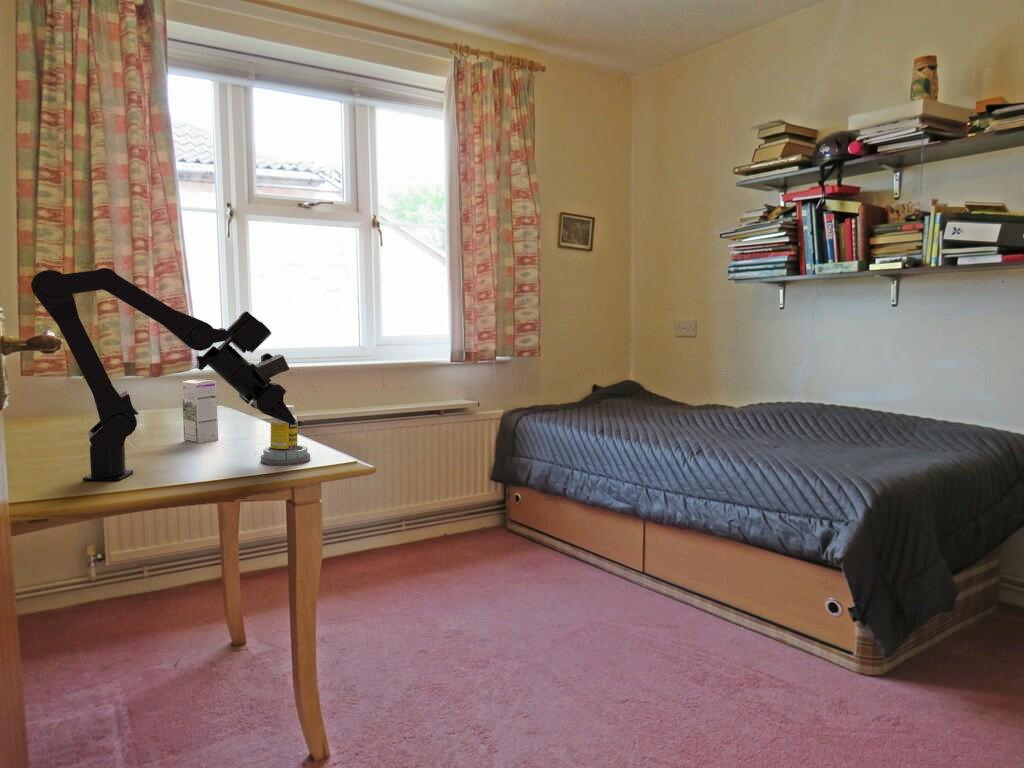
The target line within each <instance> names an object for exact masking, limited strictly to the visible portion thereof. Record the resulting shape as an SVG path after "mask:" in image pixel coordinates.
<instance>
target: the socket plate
mask: <svg viewBox="0 0 1024 768" xmlns="http://www.w3.org/2000/svg"><path fill="white" fill-rule="evenodd" d="M262 450H263V451H262V452H263V454H262V455H260V463H261V464H264V465H267V466H293V465H301V464H304V463H307V462H309V461H311V453H309V452H308V447H307V446H305V445H303V444H301V445H300V444H297V451H290V452H274V451H271V446H267V447H265V448H264V449H262Z"/></svg>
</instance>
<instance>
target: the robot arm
mask: <svg viewBox="0 0 1024 768" xmlns="http://www.w3.org/2000/svg"><path fill="white" fill-rule="evenodd" d="M30 285H31V286H30V287H31V292H32V293H33V296H35V297H36V299H37V300H38V301H39V303H41V305H42V307H43V308H44V309H45V311H46V312H47V313H48V315H49V316H50V317H51V318H52V319H53V321H54V322H55V323H56V325H57V326H58V328H59V330H60V332H61V334H62V337H63V338H64V340H65V342H66V344H67V346H68V348H69V350H70V352H71V354H72V355H73V358H74V360H75V362H76V363H77V366H78V368H79V369H80V370H79V371H80V372H81V373H82V375H83V377H84V380H85V382H86V383H87V385H88V387H89V389H90V392H91V394H92V395H93V400H94V403H95V406H96V410H97V413H98V417H99V421H98V422H97V423H96V424H95V425H94V426H93V427H91V429H89V430H88V432H87V433H88V434H87V435H88V439H89V442H90V445H89V460H90V462H89V463H90V464H89V465H90V474H88V475H85V476H83V477H82V481H120V480H122V479H124V478H126V477H128V476H130V475H132V474H134V472H135V471H134V470H133V469H128V470H127V469H126V468H127V467H126V447H125V442H126V439H127V438H128V436H130V435H132V434H133V433H134V431H136V428H137V426H138V421H137V417H136V416H137V415H139V412H138V410H137V409H136V407H134V406H133V404H132V400H131V395H130V394H129V393H128V391H127V390H126V391H124V392H122V393H119V392H118V390H117V389H116V388H115V386H114V385H113V383H112V382H111V380H110V379H111V378H110V377H109V375H108V372H107V371H106V369H105V368H104V366H103V363H102V361H101V359H100V357H99V355H98V353H97V351H96V349H95V348H94V345H93V343H92V341H91V339H90V337H89V335H88V332H87V331H86V329H85V327H84V325H83V322H82V321H81V319H80V317H79V312H78V308H77V305H76V301H75V297H74V295H76V294H82V293H89V292H95V291H104V292H106V293H108V294H109V295H111V296H113V297H114V298H116V299H118V300H120V301H121V302H123V303H124V304H127V306H130V307H131V308H133V309H134V310H137V311H138V312H139V313H141V314H143V315H144V316H146V317H147V318H148V317H149V318H150V319H151V320H153V321H155V322H157V323H158V324H159V325H161V326H162V327H163V328H164V329H166V331H168V333H169V334H171V335H172V336H174V338H176V339H177V340H178V341H179V342H181V343H182V344H183V345H184V346H185V347H187V348H189V349H191V350H194V351H198V352H201V351H206V350H207V351H206V352H205V353H204V354H203V355H195V359H196V369H197V370H199V371H202V370H204V369H205V368H206V367H207V366H209V368H211V369H212V370H213V371H214V372H215V373H217V375H219V376H220V377H221V379H223V380H224V381H225V383H226V384H228V385H229V386H230V387H232V388H233V389H234V390H235V391H236V392H237V393H238V394H239V395H238V397H239V399H241V400H242V402H244V403H246V404H247V405H249V404H250V405H249V406H250V407H252V409H256V410H258V411H259V412H260V413H261V414H263V415H267V416H269V417H271V418H272V417H274V418H277V419H279V420H282V421H285V422H287V423H290V424H294V423H295V422H296V420H295V418H294V417H293V415H294V414H293V415H292V414H291V412H290V411H289V409H288V408H287V406H286V405H287V404H286V403H285V402H284V398H285V397H284V396H285V394H286V392H287V390H286V389H285V388H284V387H283V386H282V385H281V384H279V383H278V382H272V379H271V378H273V377H275V376H277V375H279V374H281V373H283V372H284V373H285V372H287V371H289V370H290V367H289V364H288V362H287V360H286V359H285V356H284V355H283V354H275V355H271V353H268V352H267V353H264V354H262V355H260V362H258V363H256V364H254V362H253V363H252V362H250V361H248V360H246V358H245V357H243V356H242V355H241V354H240V353H239V352H241V353H242V354H245V353H246V352H249V353H250V354H253V353H254V352H255V351H256V350H257V349H258V348H259V347H260V345H262V344H263V343H265V341H266V340H267V339H269V337H270V336H271V335H272V331H271V330H270V329H269V328H268V327H267V325H266V324H265V323H263V322H262V321H260V320H259V319H257V318H256V317H255V316H254V315H252V314H251V313H250V312H249V311H243V312H242V313H241V314H240V315H239V316H238V318H237V319H236V320H235V321H234V322H233V323H231V325H229V327H228V328H226V329H225V328H223V327H219V328H215V327H213V326H212V325H211V324H209V323H208V322H206V321H204V320H201V319H199V318H196V317H194V316H192V315H189V314H186V313H184V312H182V311H178V310H177V309H174V308H173V307H171V306H169V305H168V304H166V303H164V302H163V301H160V300H159V299H157V298H156V297H154V296H153V295H151V294H149V293H148V292H146V291H145V290H143V289H141V288H140V287H138V286H136V285H135V284H133V283H131V282H130V281H128V280H127V279H125V278H124V277H121V276H120V275H119V274H118V273H116V272H115V271H114V269H111V268H109V267H102V268H98V269H95V270H94V269H93V270H87V271H79V272H78V271H76V272H70V273H69V272H68V273H62V272H60V271H57V270H53V269H47V270H46V269H45V270H42V271H39V272H38V273H36V274H35V276H33V278H32V281H31V283H30ZM222 342H223V343H222ZM217 343H221V344H220V345H219V346H218V347H216V346H214V344H217ZM231 344H232V345H233V346H234V347H235V348H236V349H238V350H239V352H238V351H237V350H236V349H235V348H234V347H233V346H232V345H231Z"/></svg>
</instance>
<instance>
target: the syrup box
mask: <svg viewBox="0 0 1024 768" xmlns="http://www.w3.org/2000/svg"><path fill="white" fill-rule="evenodd" d="M181 397H182V399H181V400H182V421H183V422H182V423H183V440H184V441H185V442H190V443H195V444H204V443H209V442H210V443H211V442H216V441H219V429H218V428H219V425H218V423H219V422H218V398H217V397H218V396H217V381H216V380H209V379H208V380H207V379H189V380H183V381H181Z"/></svg>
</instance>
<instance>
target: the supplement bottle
mask: <svg viewBox="0 0 1024 768" xmlns="http://www.w3.org/2000/svg"><path fill="white" fill-rule="evenodd" d="M285 405H286V406H287V408H288V409H289V411H290V412H291V414H292V415H293V417H294V418H295V420H296V422H295V423H294V424H290V423H287V422H285V421H282V420H279V419H277V418H274V417H271V418H270V447H271V451H274V452H290V451H297V445H298V427H299V426H298V418H297V416H296V415H294V413H295V405H292V404H285Z"/></svg>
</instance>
